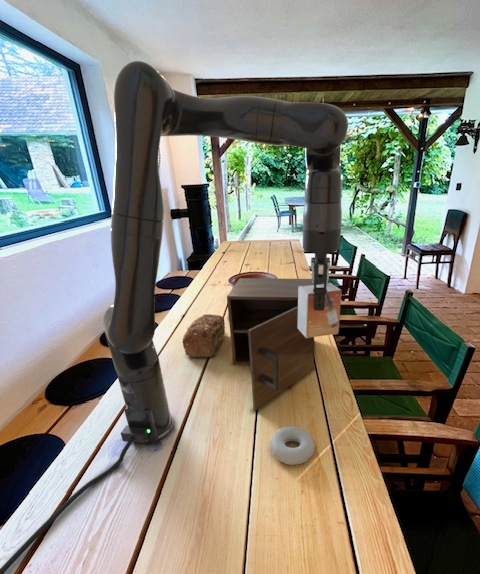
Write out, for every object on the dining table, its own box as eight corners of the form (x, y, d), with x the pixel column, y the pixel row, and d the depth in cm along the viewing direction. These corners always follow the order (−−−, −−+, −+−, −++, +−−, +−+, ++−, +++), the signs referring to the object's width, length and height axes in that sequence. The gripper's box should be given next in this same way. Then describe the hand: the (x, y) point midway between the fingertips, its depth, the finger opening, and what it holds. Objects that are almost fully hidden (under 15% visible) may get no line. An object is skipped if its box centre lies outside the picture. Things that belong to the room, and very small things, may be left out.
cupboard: (312, 368, 103) (314, 297, 93) (233, 364, 106) (226, 296, 96) (313, 341, 119) (314, 278, 109) (244, 338, 122) (239, 278, 113)
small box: (305, 339, 70) (306, 294, 66) (297, 328, 75) (297, 285, 71) (339, 334, 72) (342, 289, 68) (328, 324, 77) (330, 282, 73)
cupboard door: (329, 375, 98) (332, 303, 88) (271, 421, 81) (268, 338, 71) (311, 368, 102) (313, 298, 92) (253, 409, 85) (247, 329, 75)
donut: (323, 447, 73) (287, 427, 79) (323, 435, 72) (287, 416, 78) (298, 477, 66) (261, 453, 72) (298, 465, 65) (260, 441, 71)
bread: (212, 359, 110) (209, 332, 106) (183, 357, 111) (179, 331, 107) (227, 334, 127) (224, 310, 122) (201, 333, 128) (197, 310, 124)
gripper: (304, 221, 71) (303, 292, 78) (301, 232, 58) (300, 315, 65) (338, 220, 70) (334, 292, 77) (343, 231, 57) (338, 316, 64)
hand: (318, 303), depth 71 cm, fingers closed on small box, 7 cm apart
